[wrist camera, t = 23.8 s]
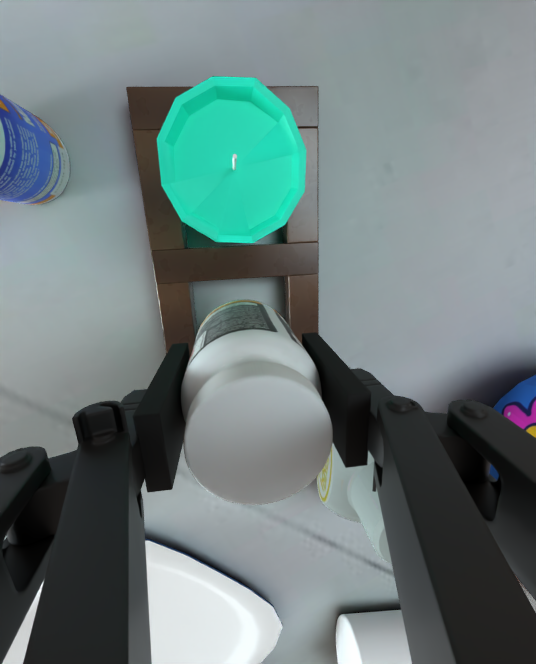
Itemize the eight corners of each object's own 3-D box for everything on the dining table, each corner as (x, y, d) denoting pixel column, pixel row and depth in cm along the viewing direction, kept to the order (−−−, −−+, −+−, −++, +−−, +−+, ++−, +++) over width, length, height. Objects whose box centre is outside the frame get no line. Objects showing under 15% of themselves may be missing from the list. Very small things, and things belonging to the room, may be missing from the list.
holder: (135, 100, 20) (125, 86, 18) (310, 99, 21) (318, 85, 19) (177, 391, 26) (173, 403, 24) (312, 378, 27) (318, 389, 25)
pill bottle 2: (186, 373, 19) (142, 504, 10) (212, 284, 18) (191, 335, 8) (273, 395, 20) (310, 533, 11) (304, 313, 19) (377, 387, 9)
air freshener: (320, 387, 27) (368, 466, 18) (409, 386, 28) (499, 461, 19) (309, 489, 30) (346, 603, 21) (390, 485, 31) (459, 592, 22)
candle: (200, 137, 21) (164, 17, 10) (285, 168, 22) (343, 92, 11) (181, 227, 22) (129, 217, 11) (261, 252, 24) (289, 265, 12)
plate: (-42, 662, 32) (-57, 685, 30) (111, 497, 28) (103, 513, 27) (164, 731, 39) (161, 753, 37) (306, 606, 35) (310, 624, 33)
